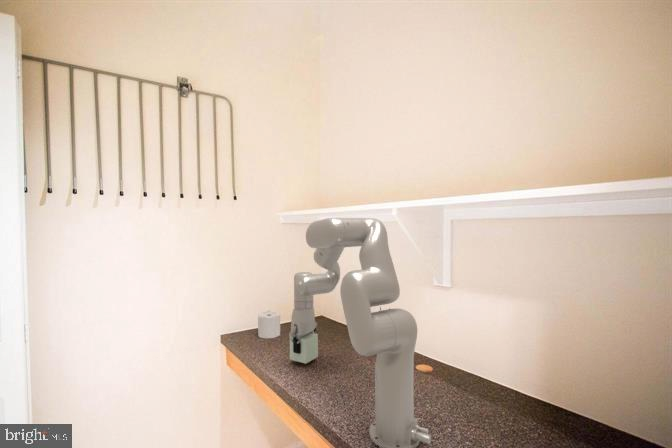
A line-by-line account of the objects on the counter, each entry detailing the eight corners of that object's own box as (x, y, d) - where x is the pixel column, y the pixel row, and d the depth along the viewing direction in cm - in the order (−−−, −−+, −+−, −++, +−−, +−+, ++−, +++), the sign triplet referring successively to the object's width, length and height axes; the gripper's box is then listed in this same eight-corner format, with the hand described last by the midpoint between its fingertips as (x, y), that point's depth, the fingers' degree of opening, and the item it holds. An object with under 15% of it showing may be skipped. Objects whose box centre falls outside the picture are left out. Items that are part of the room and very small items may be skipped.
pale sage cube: (317, 356, 128) (317, 334, 128) (305, 363, 122) (305, 340, 122) (302, 352, 132) (302, 331, 132) (289, 359, 126) (289, 336, 126)
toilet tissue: (265, 340, 152) (264, 318, 152) (252, 334, 161) (252, 314, 161) (284, 335, 159) (284, 314, 159) (271, 329, 168) (271, 310, 168)
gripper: (309, 299, 136) (309, 340, 136) (281, 307, 122) (281, 354, 122) (324, 301, 132) (324, 344, 132) (297, 310, 118) (297, 359, 118)
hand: (303, 349), depth 127 cm, fingers closed on pale sage cube, 7 cm apart
